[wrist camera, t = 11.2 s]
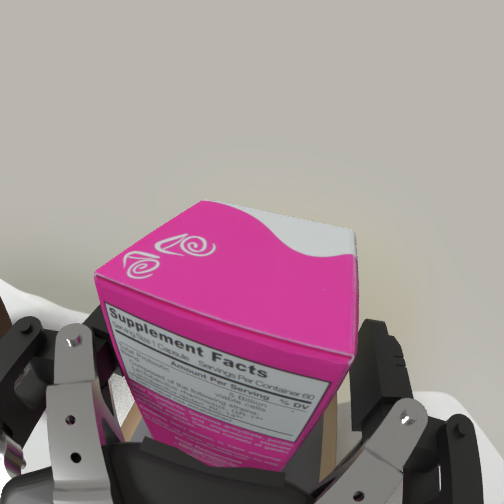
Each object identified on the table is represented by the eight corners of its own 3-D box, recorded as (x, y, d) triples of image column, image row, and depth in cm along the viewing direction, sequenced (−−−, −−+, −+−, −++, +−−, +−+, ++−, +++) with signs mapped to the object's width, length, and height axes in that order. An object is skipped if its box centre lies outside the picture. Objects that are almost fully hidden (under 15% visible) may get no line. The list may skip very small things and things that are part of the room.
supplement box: (200, 379, 16) (204, 192, 10) (293, 410, 14) (366, 231, 9) (154, 453, 11) (85, 263, 5) (265, 496, 9) (379, 361, 4)
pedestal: (312, 415, 20) (338, 372, 17) (296, 544, 10) (330, 542, 7) (175, 385, 21) (169, 335, 18) (121, 501, 11) (88, 482, 8)
